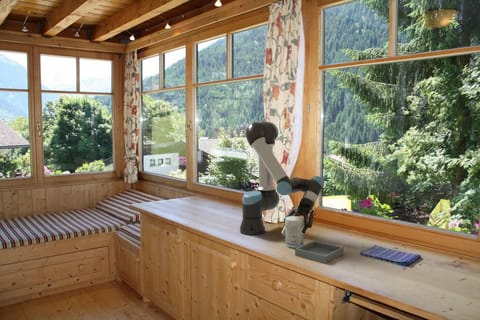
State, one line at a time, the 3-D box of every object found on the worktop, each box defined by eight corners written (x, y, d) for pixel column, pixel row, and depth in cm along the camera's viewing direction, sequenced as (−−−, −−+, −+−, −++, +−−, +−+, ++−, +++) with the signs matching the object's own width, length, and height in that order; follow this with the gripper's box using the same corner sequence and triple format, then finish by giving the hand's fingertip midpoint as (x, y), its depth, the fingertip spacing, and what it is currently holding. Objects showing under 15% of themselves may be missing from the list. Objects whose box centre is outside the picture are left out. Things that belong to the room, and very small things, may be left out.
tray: (295, 255, 192) (295, 248, 192) (314, 246, 205) (314, 240, 204) (325, 263, 181) (325, 256, 180) (343, 254, 193) (343, 247, 193)
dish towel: (407, 268, 175) (407, 262, 175) (358, 255, 192) (358, 250, 192) (422, 258, 187) (422, 253, 186) (375, 247, 204) (375, 242, 203)
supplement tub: (296, 241, 214) (296, 215, 212) (307, 246, 205) (307, 218, 204) (281, 244, 209) (281, 217, 207) (292, 249, 201) (292, 221, 199)
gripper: (328, 207, 209) (311, 244, 199) (294, 202, 224) (277, 235, 214) (323, 199, 204) (305, 236, 195) (288, 194, 220) (271, 228, 210)
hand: (290, 235), depth 204 cm, fingers closed on supplement tub, 9 cm apart
